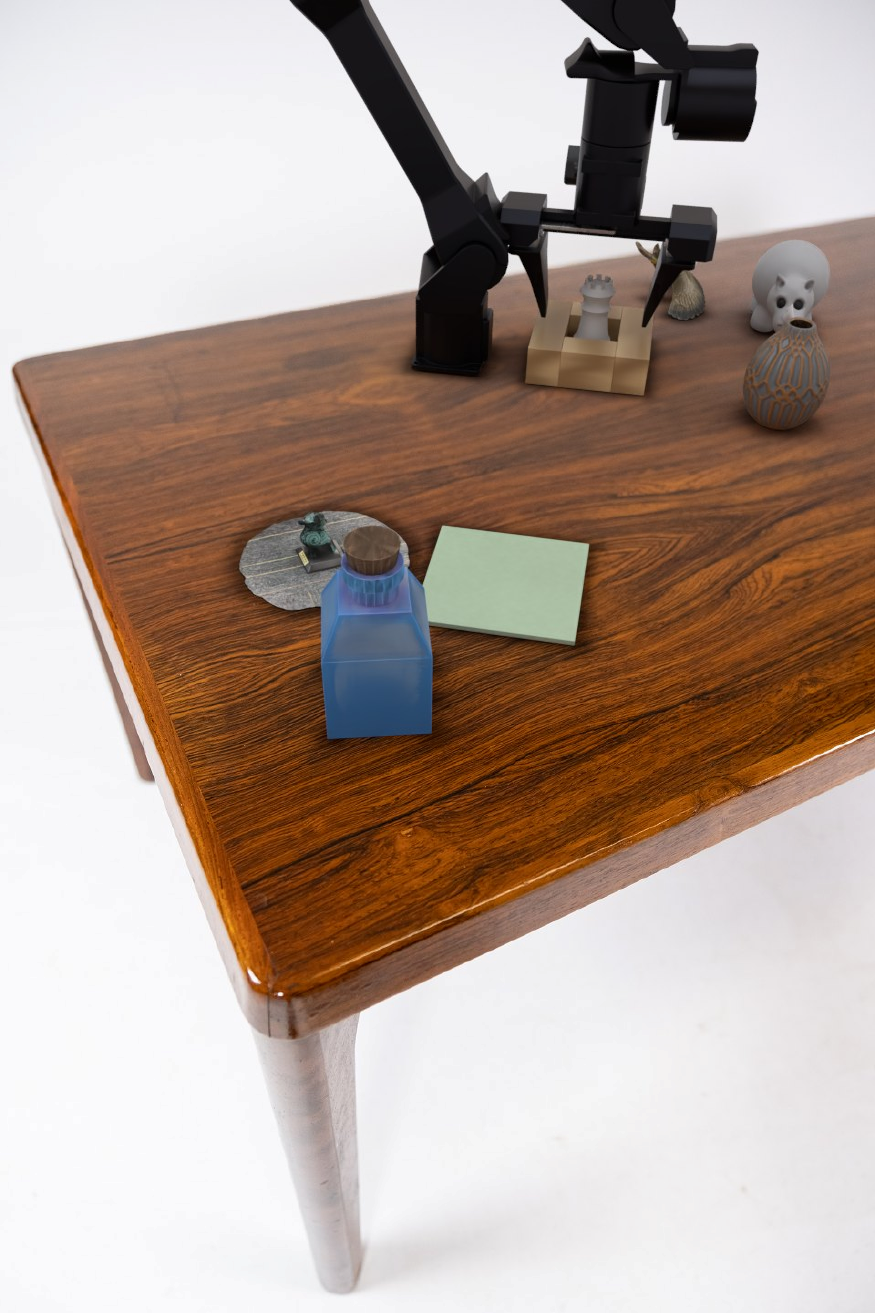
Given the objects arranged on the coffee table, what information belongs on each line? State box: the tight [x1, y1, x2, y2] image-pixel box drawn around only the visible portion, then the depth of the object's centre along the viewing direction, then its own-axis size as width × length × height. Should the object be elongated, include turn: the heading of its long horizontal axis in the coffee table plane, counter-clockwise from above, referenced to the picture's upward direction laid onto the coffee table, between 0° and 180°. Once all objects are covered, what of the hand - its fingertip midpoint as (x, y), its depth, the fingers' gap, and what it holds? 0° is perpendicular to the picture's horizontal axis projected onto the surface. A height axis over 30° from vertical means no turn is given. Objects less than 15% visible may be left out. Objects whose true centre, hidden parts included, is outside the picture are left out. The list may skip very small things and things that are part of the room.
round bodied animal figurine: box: [749, 239, 831, 333], centre depth 98 cm, size 7×12×8 cm, turn 163°
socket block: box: [524, 298, 655, 397], centre depth 95 cm, size 11×11×4 cm
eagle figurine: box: [635, 240, 706, 321], centre depth 105 cm, size 8×7×9 cm
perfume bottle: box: [320, 526, 434, 740], centre depth 59 cm, size 6×6×12 cm
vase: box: [742, 317, 831, 431], centre depth 86 cm, size 7×7×9 cm
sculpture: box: [238, 510, 411, 611], centre depth 73 cm, size 12×9×8 cm
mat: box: [421, 525, 590, 647], centre depth 71 cm, size 11×11×1 cm
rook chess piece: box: [574, 273, 617, 341], centre depth 94 cm, size 4×4×8 cm
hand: (593, 320), depth 93 cm, fingers open, 9 cm apart
